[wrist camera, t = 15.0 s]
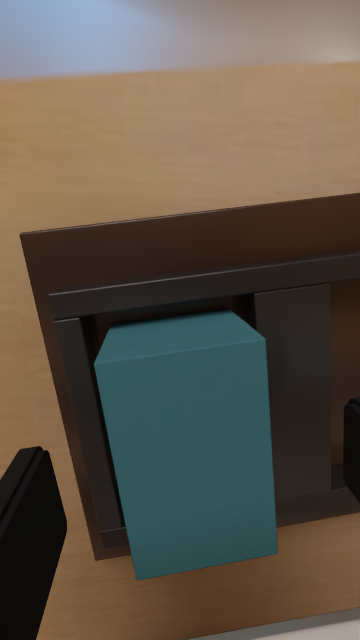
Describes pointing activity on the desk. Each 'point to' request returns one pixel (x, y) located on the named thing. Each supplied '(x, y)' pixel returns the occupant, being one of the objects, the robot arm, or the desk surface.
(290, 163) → the desk surface
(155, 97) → the desk surface
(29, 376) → the desk surface
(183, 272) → the back plate
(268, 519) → the teal pad
